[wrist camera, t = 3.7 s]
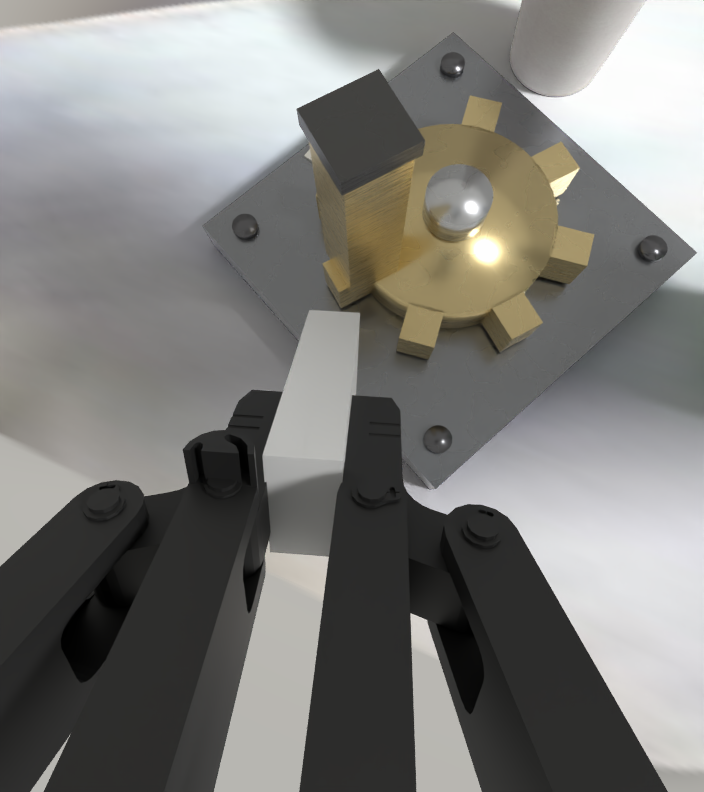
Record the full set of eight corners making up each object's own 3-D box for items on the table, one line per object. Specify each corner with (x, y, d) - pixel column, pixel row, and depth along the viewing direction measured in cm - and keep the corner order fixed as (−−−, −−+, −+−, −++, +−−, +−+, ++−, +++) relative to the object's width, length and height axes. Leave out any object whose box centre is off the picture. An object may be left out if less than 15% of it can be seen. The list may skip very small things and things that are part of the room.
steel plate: (672, 270, 34) (756, 209, 26) (429, 489, 31) (449, 487, 24) (447, 62, 37) (467, -42, 30) (213, 244, 35) (174, 179, 28)
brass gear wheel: (489, 86, 34) (568, -175, 20) (626, 283, 31) (822, 126, 18) (275, 192, 32) (214, -12, 19) (397, 407, 29) (423, 338, 16)
